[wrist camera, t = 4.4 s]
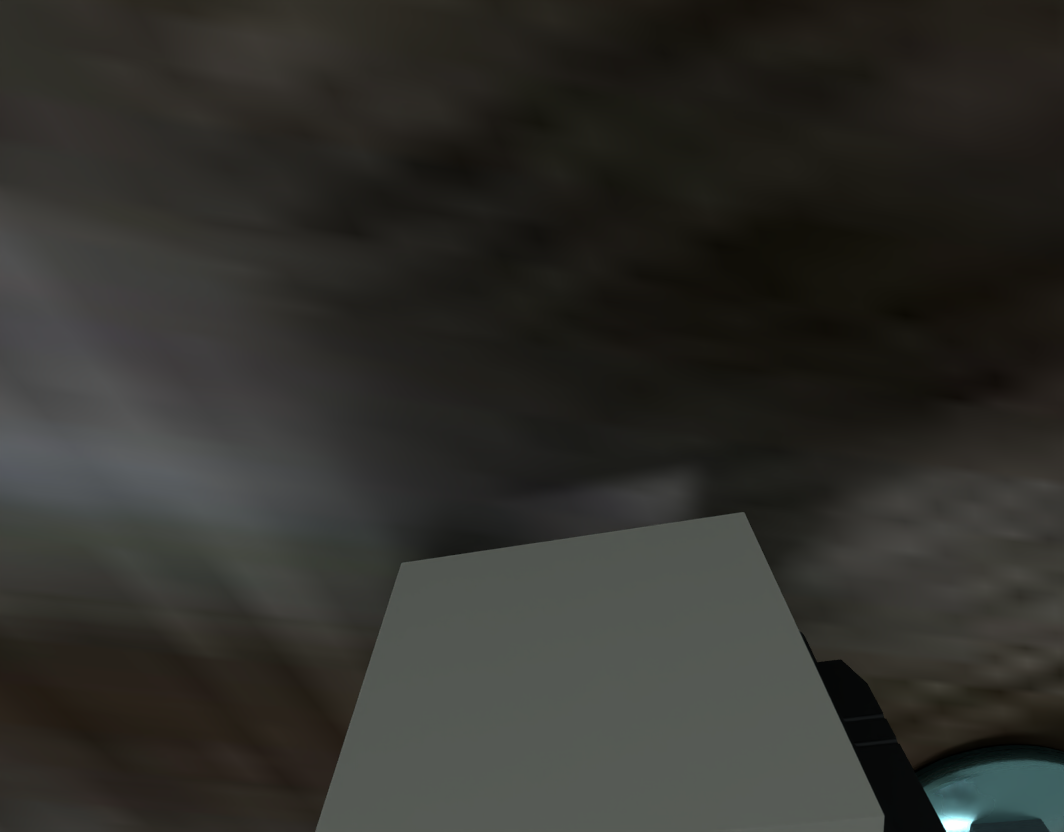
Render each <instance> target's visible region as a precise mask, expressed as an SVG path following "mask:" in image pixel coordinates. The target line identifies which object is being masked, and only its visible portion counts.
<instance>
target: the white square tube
mask: <svg viewBox="0 0 1064 832" xmlns="http://www.w3.org/2000/svg"><path fill="white" fill-rule="evenodd" d="M884 817H885V816H884V814H883V812H882V810H881V807H880V805H879V803H878V801H877V799H876V797H875V794H874V792H873V790H872V788H871V786H870V784H869V781H868V779H867V777H866V775H865V773H864V771H863V768H862V766H861V764H860V762H859V760H858V758H857V755H856V753H855V751H854V749H853V747H852V745H851V742H850V740H849V738H848V736H847V734H846V732H845V729H844V727H843V725H842V723H841V721H840V719H839V716H838V714H837V712H836V710H835V708H834V706H833V703H832V701H831V699H830V697H829V695H828V693H827V690H826V688H825V686H824V684H823V682H822V680H821V677H820V675H819V673H818V671H817V669H816V667H815V664H814V662H813V660H812V658H811V656H810V654H809V651H808V649H807V647H806V645H805V643H804V641H803V638H802V636H801V634H800V632H799V630H798V628H797V625H796V623H795V621H794V619H793V617H792V615H791V612H790V610H789V608H788V606H787V604H786V602H785V599H784V597H783V595H782V593H781V591H780V589H779V586H778V584H777V582H776V580H775V578H774V576H773V573H772V571H771V569H770V567H769V565H768V563H767V560H766V558H765V556H764V554H763V552H762V550H761V547H760V545H759V543H758V541H757V539H756V537H755V534H754V532H753V530H752V528H751V526H750V524H749V521H748V519H747V517H746V515H745V513H744V512H740V513H733V514H727V515H720V516H713V517H707V518H700V519H693V520H686V521H680V522H673V523H666V524H660V525H653V526H646V527H639V528H633V529H626V530H619V531H613V532H606V533H599V534H592V535H586V536H579V537H572V538H566V539H559V540H552V541H545V542H539V543H532V544H525V545H519V546H512V547H505V548H498V549H492V550H485V551H478V552H472V553H465V554H458V555H451V556H445V557H438V558H431V559H425V560H418V561H411V562H404V563H401V566H400V569H399V572H398V575H397V578H396V581H395V585H394V588H393V591H392V594H391V597H390V600H389V603H388V606H387V609H386V613H385V616H384V619H383V622H382V625H381V628H380V631H379V634H378V638H377V641H376V644H375V647H374V650H373V653H372V656H371V659H370V663H369V666H368V669H367V672H366V675H365V678H364V681H363V684H362V688H361V691H360V694H359V697H358V700H357V703H356V706H355V709H354V712H353V716H352V719H351V722H350V725H349V728H348V731H347V734H346V737H345V741H344V744H343V747H342V750H341V753H340V756H339V759H338V762H337V766H336V769H335V772H334V775H333V778H332V781H331V784H330V787H329V791H328V794H327V797H326V800H325V803H324V806H323V809H322V812H321V815H320V819H319V822H318V825H317V828H316V831H315V832H883V831H884Z"/></svg>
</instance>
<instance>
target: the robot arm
mask: <svg viewBox="0 0 1064 832" xmlns="http://www.w3.org/2000/svg"><path fill="white" fill-rule="evenodd" d="M799 632H800V631H799ZM800 634H801V636H802V638H803V641H804V643H805V645H806V647H807V649H808V651H809V654H810V656H811V658H812V660H813V662H814V664H815V667H816V669H817V671H818V673H819V675H820V677H821V680H822V682H823V684H824V686H825V688H826V690H827V693H828V695H829V697H830V699H831V701H832V703H833V706H834V708H835V710H836V712H837V714H838V716H839V719H840V721H841V723H842V725H843V727H844V729H845V732H846V734H847V736H848V738H849V740H850V742H851V745H852V747H853V749H854V751H855V753H856V755H857V758H858V760H859V762H860V764H861V766H862V768H863V771H864V773H865V775H866V777H867V779H868V781H869V784H870V786H871V788H872V790H873V792H874V794H875V797H876V799H877V801H878V803H879V805H880V807H881V810H882V812H883V814H884V816H885V817H884V831H883V832H946V830H945V828H944V826H943V824H942V822H941V820H940V819H939V817H938V815H937V813H936V811H935V809H934V807H933V805H932V804H931V802H930V800H929V798H928V796H927V794H926V792H925V791H924V789H923V787H922V785H921V783H920V781H919V779H918V777H917V776H916V774H915V772H914V770H913V768H912V766H911V764H910V762H909V761H908V759H907V757H906V755H905V753H904V751H903V749H902V748H901V746H900V744H898V743H897V740H896V736H895V734H894V733H893V731H892V729H891V727H890V725H889V723H888V721H887V720H886V719H885V718H884V716H883V712H882V710H881V708H880V706H879V705H878V703H877V701H876V699H875V697H874V695H873V693H872V692H871V690H870V688H869V686H868V684H867V683H866V682H865V681H864V680H863V679H862V678H861V677H860V676H859V675H857V674H856V673H855V672H854V671H853V670H852V669H851V668H850V667H849V666H848V665H846V664H845V663H844V662H843V661H842V660H833V661H825V662H817V661H816V659H815V657H814V655H813V653H812V651H811V648H810V646H809V644H808V642H807V640H806V638H805V636H804V635H803V633H802V632H800Z"/></svg>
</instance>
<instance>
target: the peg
mask: <svg viewBox="0 0 1064 832" xmlns="http://www.w3.org/2000/svg"><path fill="white" fill-rule="evenodd" d="M915 774H916V776H917V777H918V779H919V781H920V783H921V785H922V787H923V789H924V791H925V792H926V794H927V796H928V798H929V800H930V802H931V804H932V805H933V807H934V809H935V811H936V813H937V815H938V817H939V819H940V820H941V822H942V824H943V826H944V828H945V830H946V832H1064V752H1062V751H1060V750H1055V749H1051V748H1047V747H1039V746H1031V745H1005V746H994V747H986V748H980V749H976V750H971V751H967V752H963V753H960V754H956V755H953V756H950V757H947V758H945V759H942V760H939V761H937V762H935V763H933V764H931V765H929V766H927V767H924V768H923V769H921V770H919V771H918V772H916V773H915Z"/></svg>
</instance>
